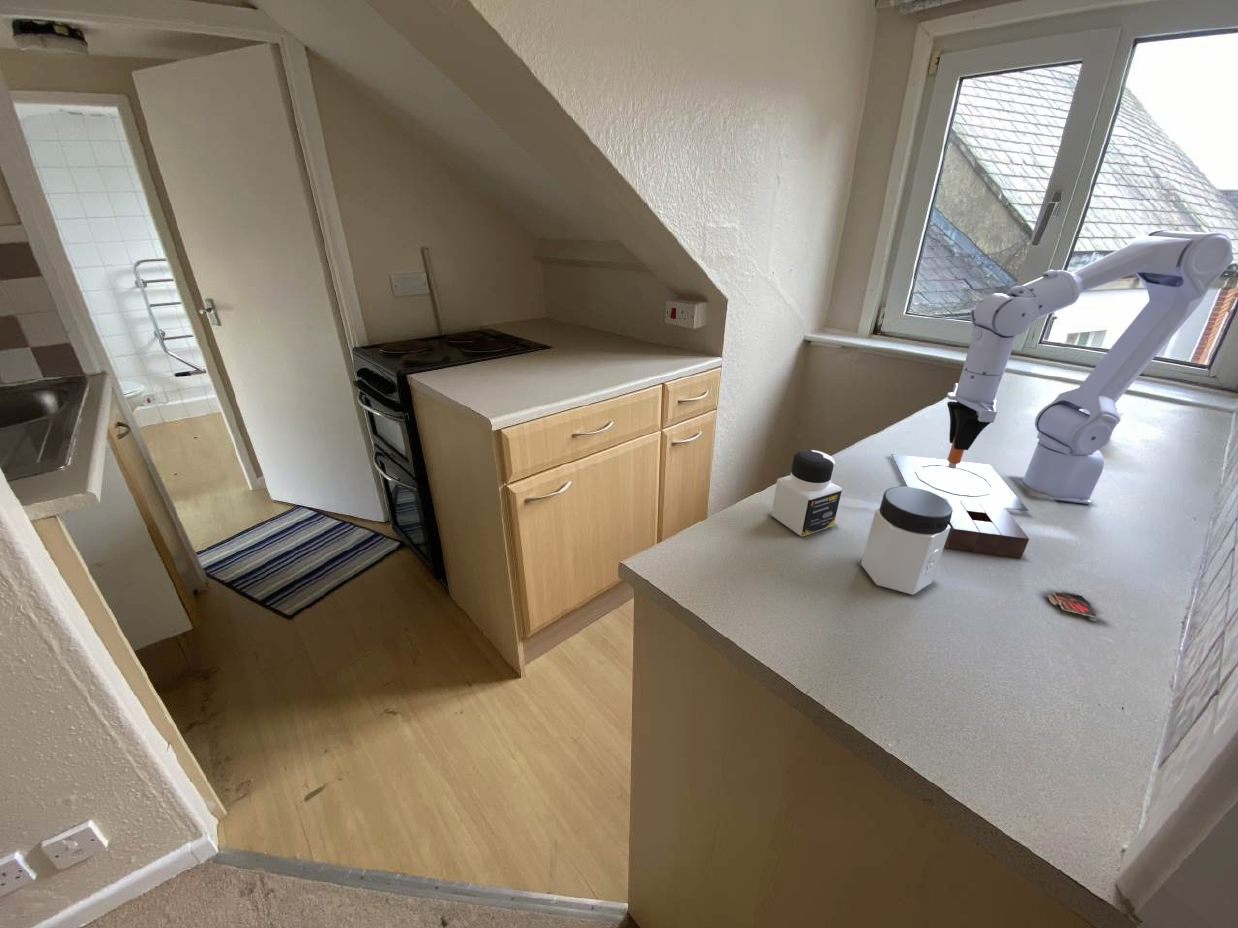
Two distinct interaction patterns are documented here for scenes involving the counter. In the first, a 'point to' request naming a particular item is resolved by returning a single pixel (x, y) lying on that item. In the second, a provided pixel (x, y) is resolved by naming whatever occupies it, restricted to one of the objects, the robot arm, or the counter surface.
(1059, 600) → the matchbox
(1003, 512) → the pen stand
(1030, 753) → the counter surface
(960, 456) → the marker
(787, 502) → the medicine bottle
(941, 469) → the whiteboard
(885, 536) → the jar
